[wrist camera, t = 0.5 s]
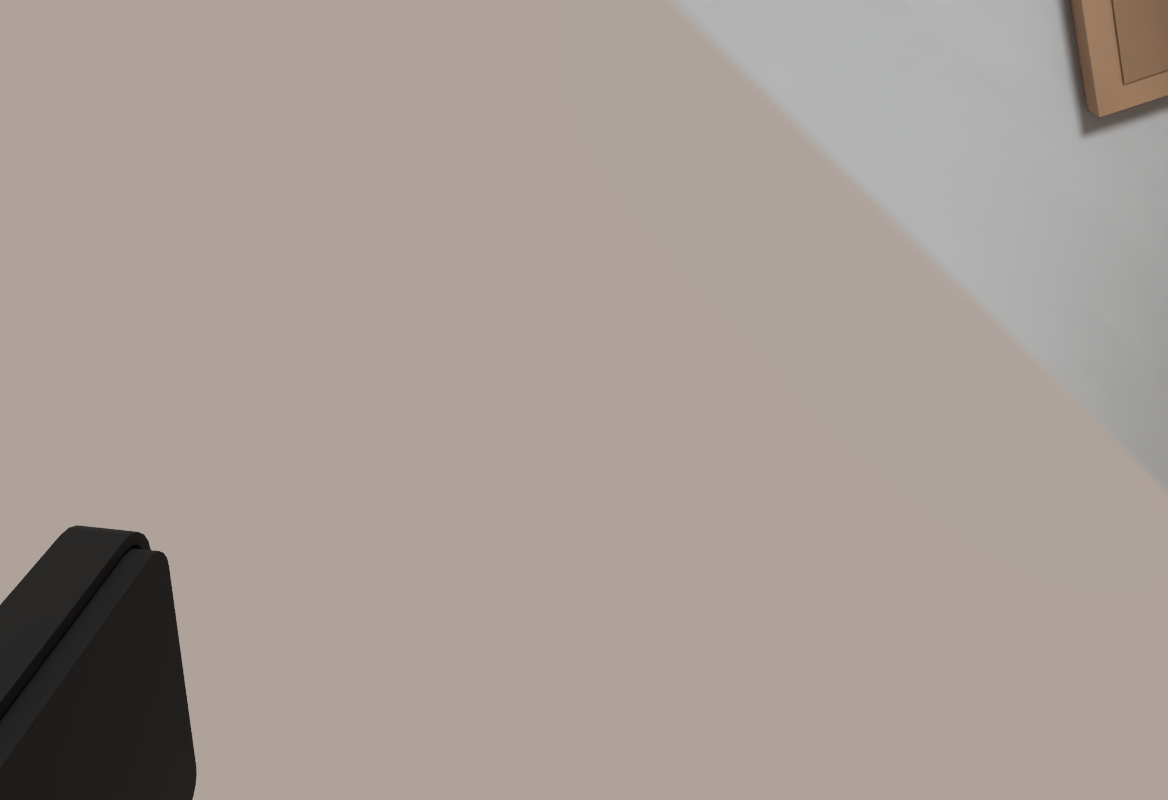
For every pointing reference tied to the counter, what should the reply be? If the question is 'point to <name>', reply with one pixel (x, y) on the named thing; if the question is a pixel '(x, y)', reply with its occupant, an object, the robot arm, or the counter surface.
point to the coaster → (1122, 52)
